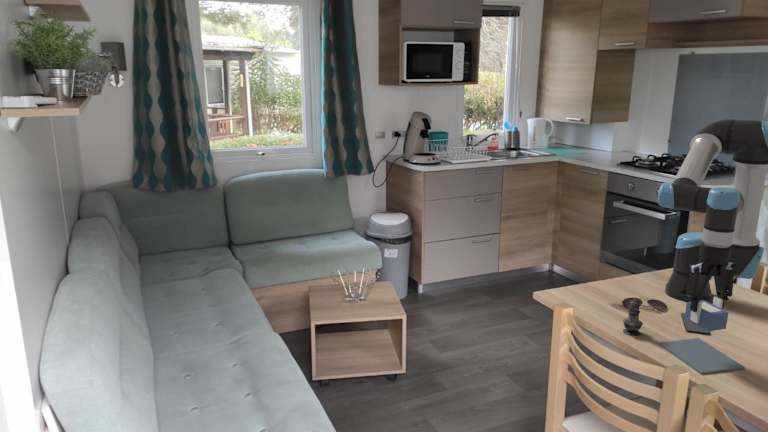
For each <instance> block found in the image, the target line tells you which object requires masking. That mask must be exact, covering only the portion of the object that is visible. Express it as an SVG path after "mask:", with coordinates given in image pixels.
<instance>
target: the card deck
mask: <svg viewBox="0 0 768 432" xmlns="http://www.w3.org/2000/svg"><path fill="white" fill-rule="evenodd" d="M701 302H702V307H701V314H700V321H699V323H695V322H693V321H692V320H690V317H691V310H690V305H691V302H688V301H686V306H685V312H684V313H685V319H687V320H689V321H691V322H692V323H694V324H696V325H698V326H700V327H701V328H703V329H705V330H707V331H709V332H713V331H720V330H727V324H728V319H729V312H728V311H726V310H724V309H721V308H719V307H717V306H715V305H713V303H710V302H709V301H705V300H701Z"/></svg>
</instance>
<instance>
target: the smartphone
mask: <svg viewBox="0 0 768 432" xmlns="http://www.w3.org/2000/svg"><path fill="white" fill-rule="evenodd" d="M680 316H681V320H682V323H683V326H684V330H685V332H686V333H691V334H700V335H704V336H705V335H706V336H710V335H711V333H710V332H711V331H707V330H705V329H703V328H701V327H700V326H698V325H696V324H694V323H692V322H691V321H689V320H687V319H685V312H680Z"/></svg>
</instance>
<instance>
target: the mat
mask: <svg viewBox="0 0 768 432" xmlns="http://www.w3.org/2000/svg"><path fill="white" fill-rule="evenodd" d="M658 345H659V346H660V347H661V348H662V349H664V350H665V351H667V352H669V353H670V354H671V355H673V356H674V357H676V358H677V359H679V360H680V361H681V362H683V363H684V364H686V365H688V367H690V368H692V370H694V371H696V372H697V373H698V374H700V375H707V374H714V373H715V374H716V373H720V372H721V373H722V372H728V371H729V372H731V371H735V370H736V371H737V370H742V369H743V370H745V366H744V365H742V364H741V363H739V362H737V360H734V359H733V358H731V357H729V356H728V355H726V353H723V352H721V351H720V350H718V349H717V348H715V347H714V346H712V345H711V344H709V343H707V342H705V341H704V340H703V339H701V338H699V337H695V338H688V339H687V338H686V339H679V340H670V341H662V342H658Z"/></svg>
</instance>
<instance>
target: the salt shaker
mask: <svg viewBox="0 0 768 432" xmlns="http://www.w3.org/2000/svg"><path fill="white" fill-rule="evenodd" d="M640 302H641V301H639V300H638V299H637V297H634V299H631V300H630V301H629V308H628V309H627V312H628V317H627V318H623V320H622V322H623V326H624V328H623V330H622V332H623V334H625V335H627V336H631V337H639V336H641V334H642V333H641V332H640V331H639V330H641V328H642V326H643V325H644V324H643V321H641V320H640V318H639V316H640V313H641V311H640V305H641V303H640Z"/></svg>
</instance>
